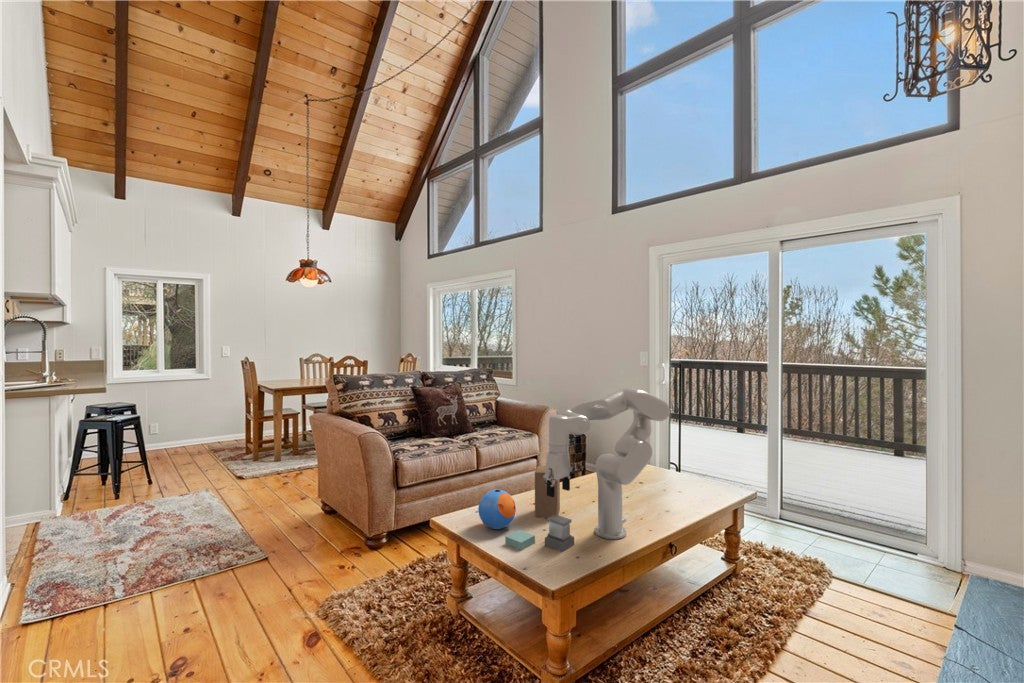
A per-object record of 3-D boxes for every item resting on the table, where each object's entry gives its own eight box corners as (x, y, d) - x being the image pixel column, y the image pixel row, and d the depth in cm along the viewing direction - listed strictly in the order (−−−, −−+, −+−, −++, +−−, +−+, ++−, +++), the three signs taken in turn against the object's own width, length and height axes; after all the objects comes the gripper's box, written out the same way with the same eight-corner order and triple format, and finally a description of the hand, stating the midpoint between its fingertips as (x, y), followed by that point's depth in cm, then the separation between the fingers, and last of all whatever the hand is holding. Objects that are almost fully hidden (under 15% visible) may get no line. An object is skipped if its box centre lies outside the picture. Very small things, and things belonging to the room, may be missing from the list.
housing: (555, 532, 183) (555, 514, 183) (571, 537, 178) (571, 519, 177) (547, 536, 179) (547, 518, 179) (563, 542, 174) (563, 523, 174)
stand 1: (519, 537, 185) (519, 529, 185) (534, 543, 180) (534, 535, 180) (505, 544, 179) (505, 536, 179) (521, 550, 174) (521, 542, 174)
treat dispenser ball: (495, 517, 206) (495, 482, 205) (523, 526, 196) (523, 489, 196) (470, 528, 194) (470, 491, 193) (499, 538, 184) (498, 500, 184)
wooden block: (557, 519, 203) (557, 473, 202) (534, 517, 205) (534, 472, 204) (559, 510, 213) (559, 466, 212) (538, 508, 215) (537, 465, 214)
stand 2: (557, 538, 184) (557, 530, 184) (574, 544, 179) (574, 536, 179) (544, 545, 178) (544, 537, 178) (561, 551, 173) (561, 543, 173)
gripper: (564, 442, 186) (563, 485, 187) (536, 450, 174) (536, 496, 174) (579, 445, 181) (579, 489, 182) (552, 454, 169) (552, 501, 169)
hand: (558, 493), depth 178 cm, fingers open, 9 cm apart
